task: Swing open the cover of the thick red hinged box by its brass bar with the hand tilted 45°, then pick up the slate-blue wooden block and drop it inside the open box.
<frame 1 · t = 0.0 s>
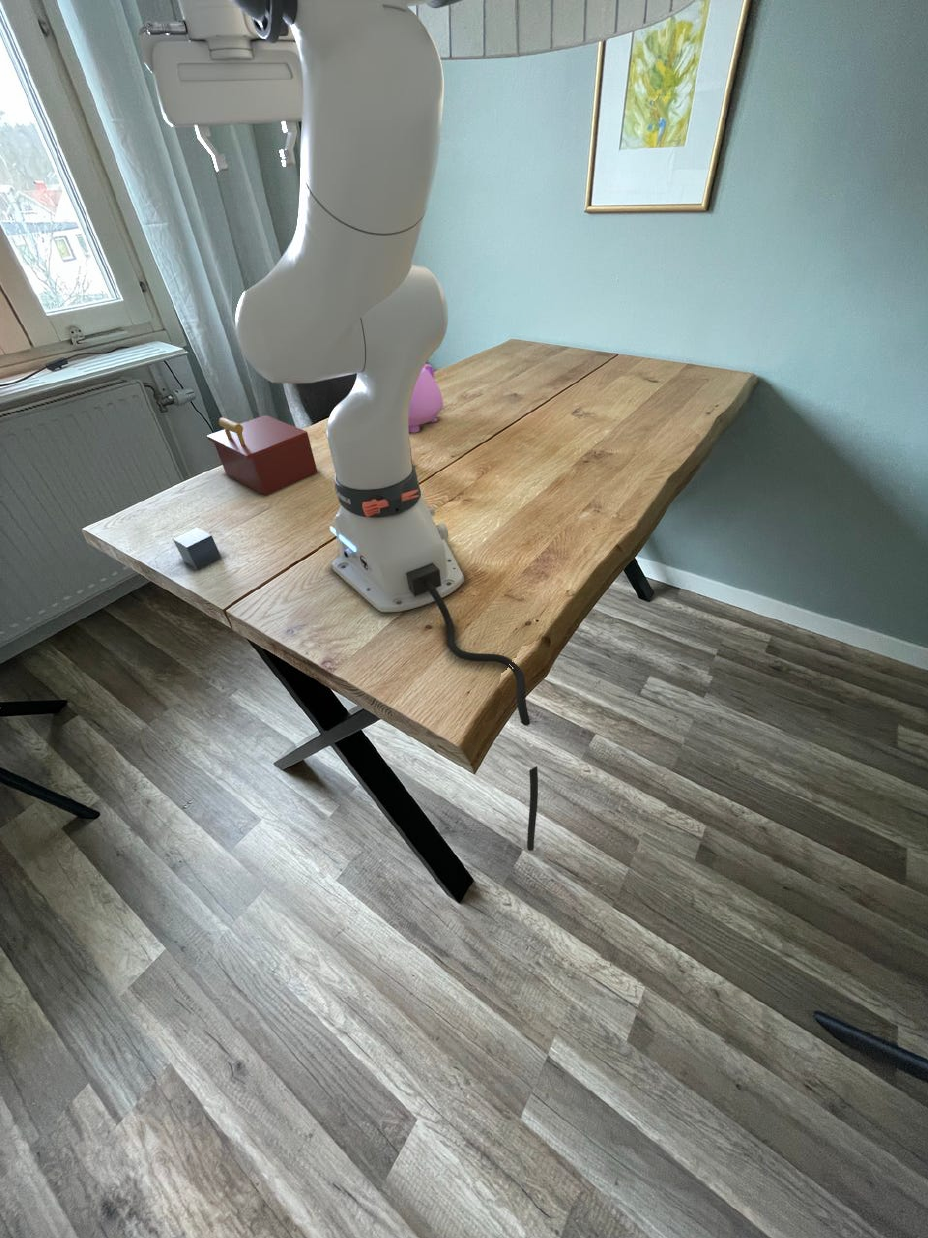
hand: (256, 168, 74), 48 cm above the table, tool pointing down, fingers open, 8 cm apart
cover: (254, 425, 103), point 10 cm above the table, hinge at 0.0°
pink piggy bank: (409, 424, 126), on the table
soda can: (400, 467, 109), on the table
block: (202, 559, 87), on the table
red hinged box: (271, 473, 110), on the table
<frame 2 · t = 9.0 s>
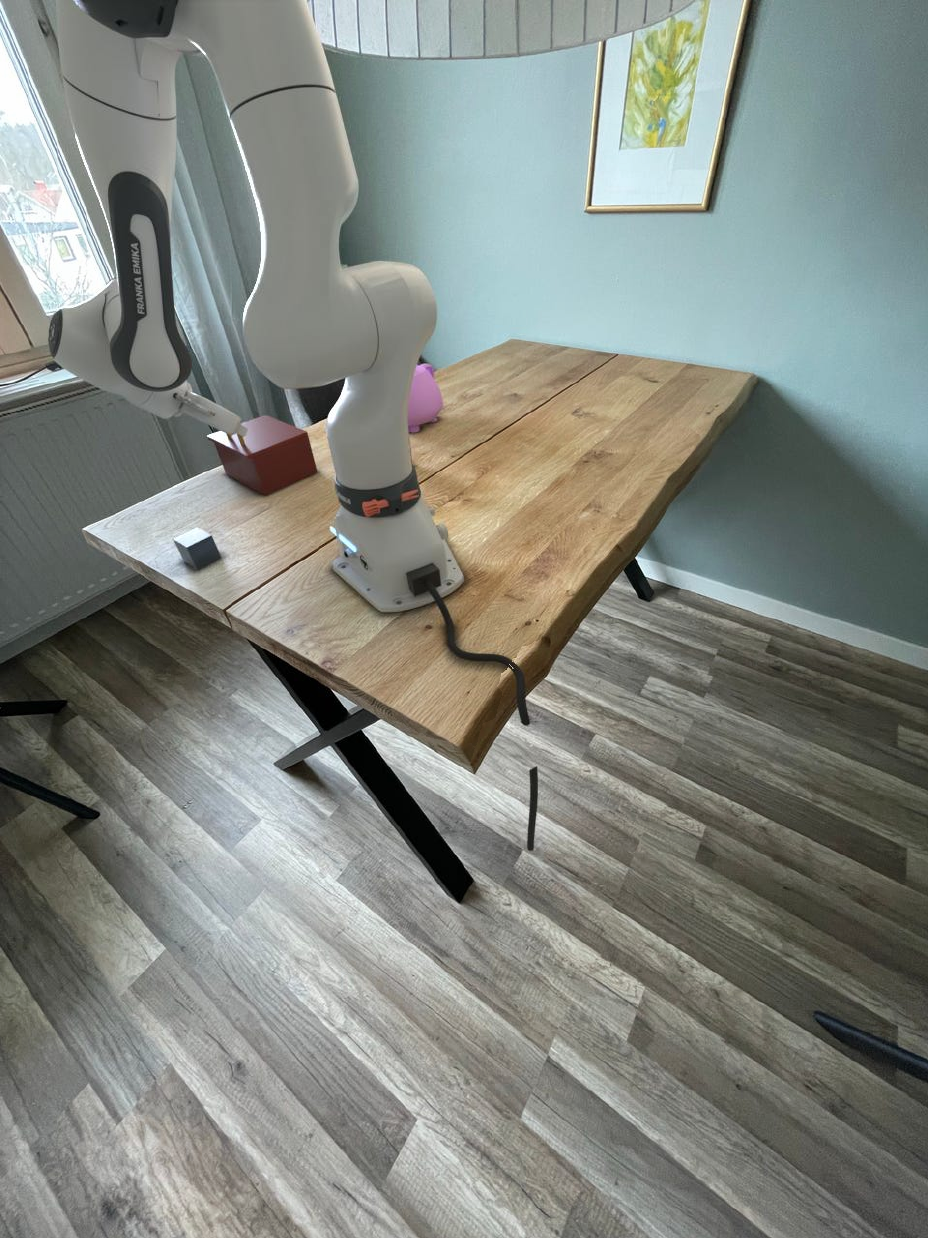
hand: (234, 427, 100), 11 cm above the table, tool tilted 45°, fingers closed on cover, 6 cm apart
cover: (254, 425, 103), point 10 cm above the table, hinge at 0.0°, touching gripper
everything else where it was.
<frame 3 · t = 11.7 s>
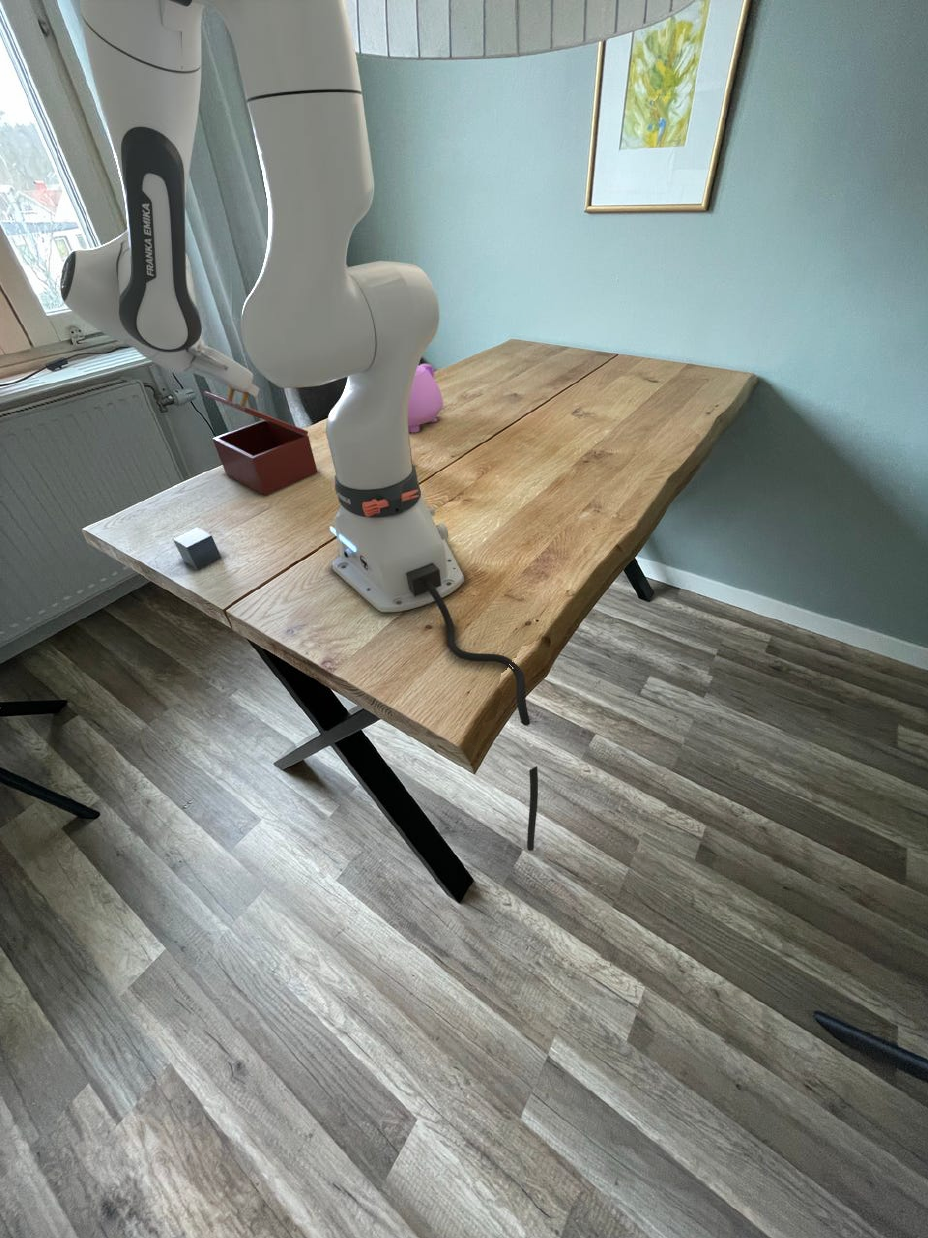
hand: (245, 388, 99), 17 cm above the table, tool tilted 45°, fingers closed on cover, 6 cm apart
cover: (259, 403, 102), point 14 cm above the table, hinge at 36.2°, touching gripper
everything else where it was.
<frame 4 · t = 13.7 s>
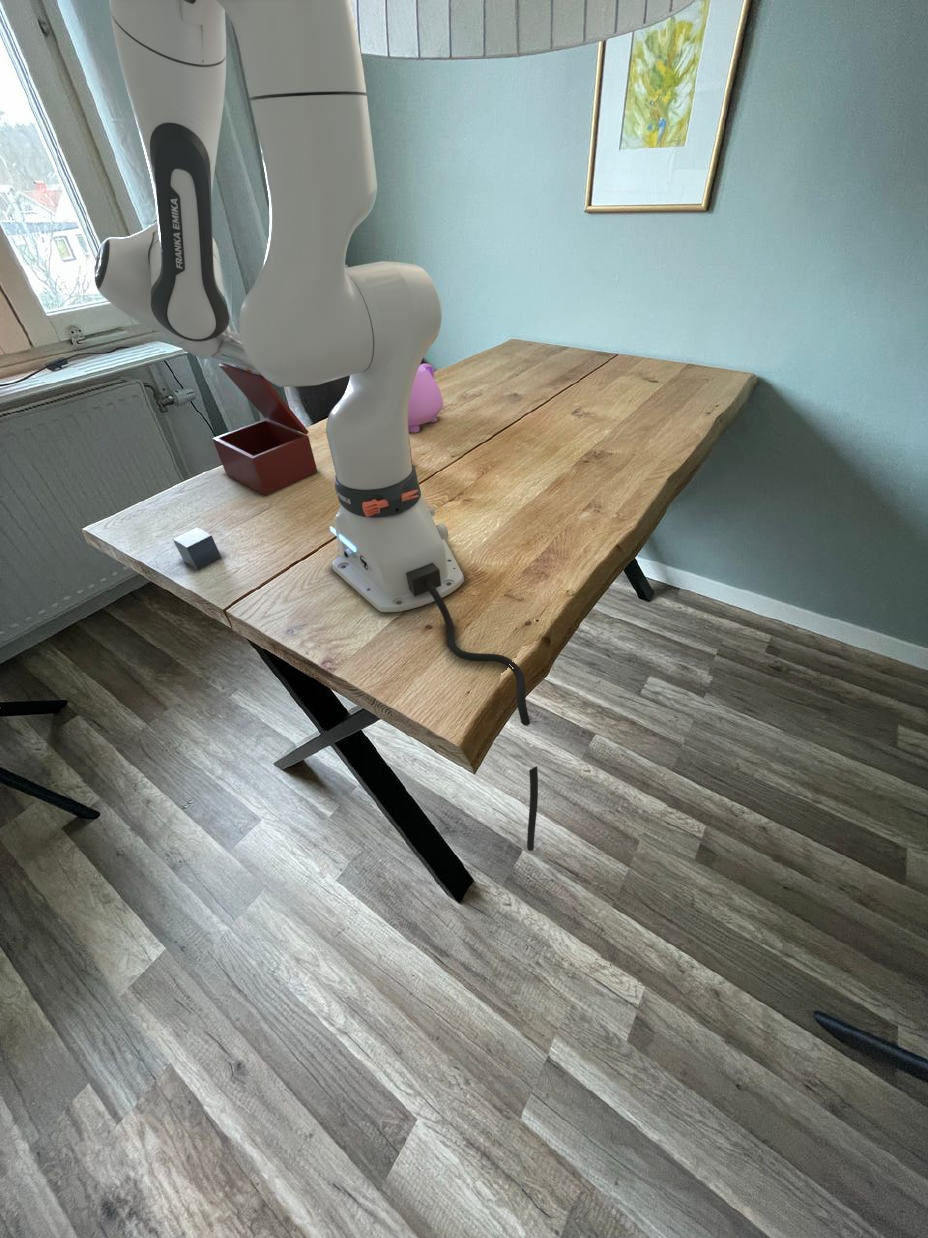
hand: (269, 373, 101), 18 cm above the table, tool tilted 45°, fingers closed on cover, 6 cm apart
cover: (270, 391, 102), point 15 cm above the table, hinge at 63.6°, touching gripper
everything else where it was.
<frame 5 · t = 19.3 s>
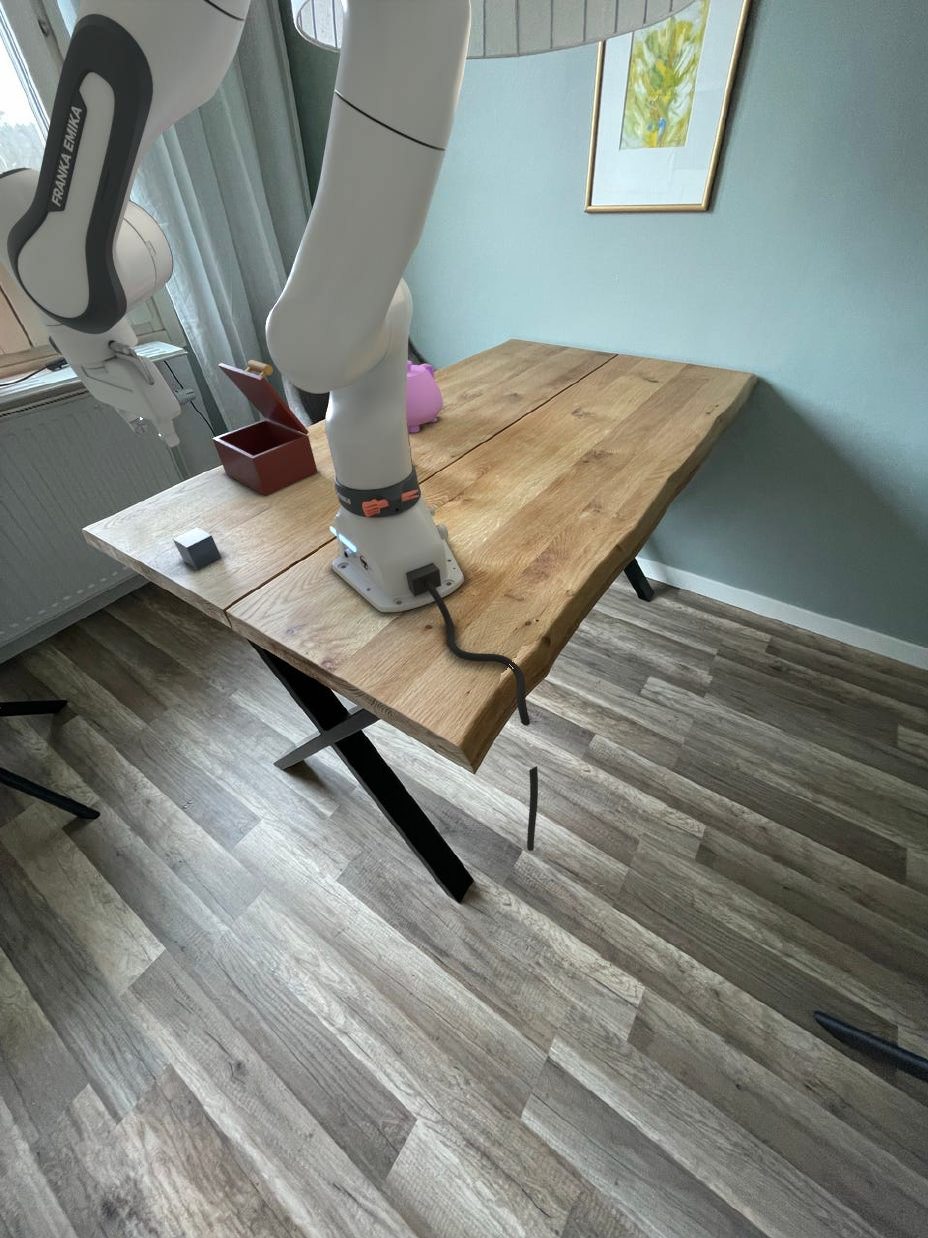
hand: (157, 437, 77), 19 cm above the table, tool pointing down, fingers open, 8 cm apart
cover: (270, 391, 102), point 15 cm above the table, hinge at 63.1°
everything else where it was.
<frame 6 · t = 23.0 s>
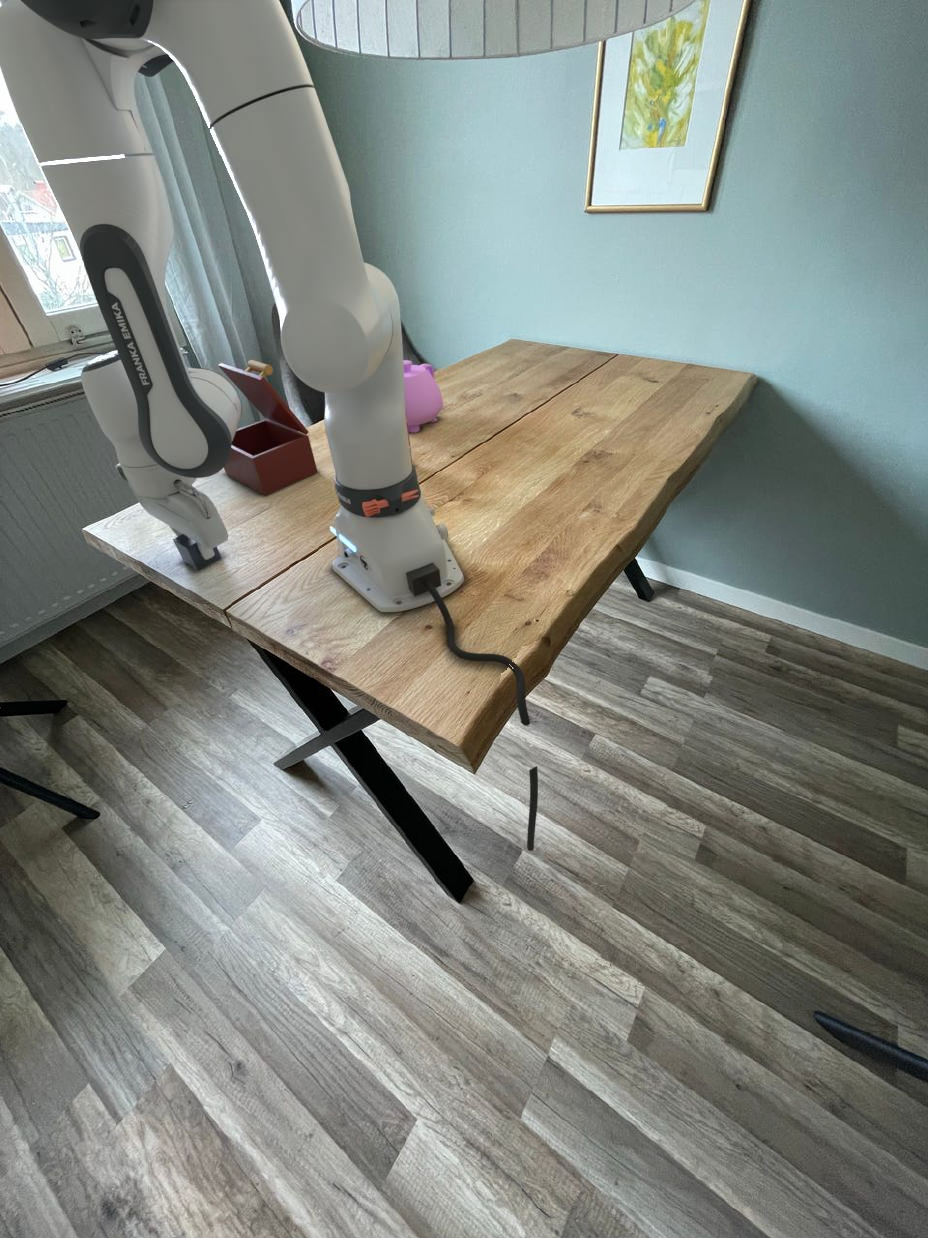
hand: (198, 550, 86), 2 cm above the table, tool pointing down, fingers closed on block, 4 cm apart
block: (202, 559, 87), on the table, touching gripper
everything else where it was.
when the fingers open (11 cm above the table, at t = 29.7 s): block drops 9 cm, resting on red hinged box.
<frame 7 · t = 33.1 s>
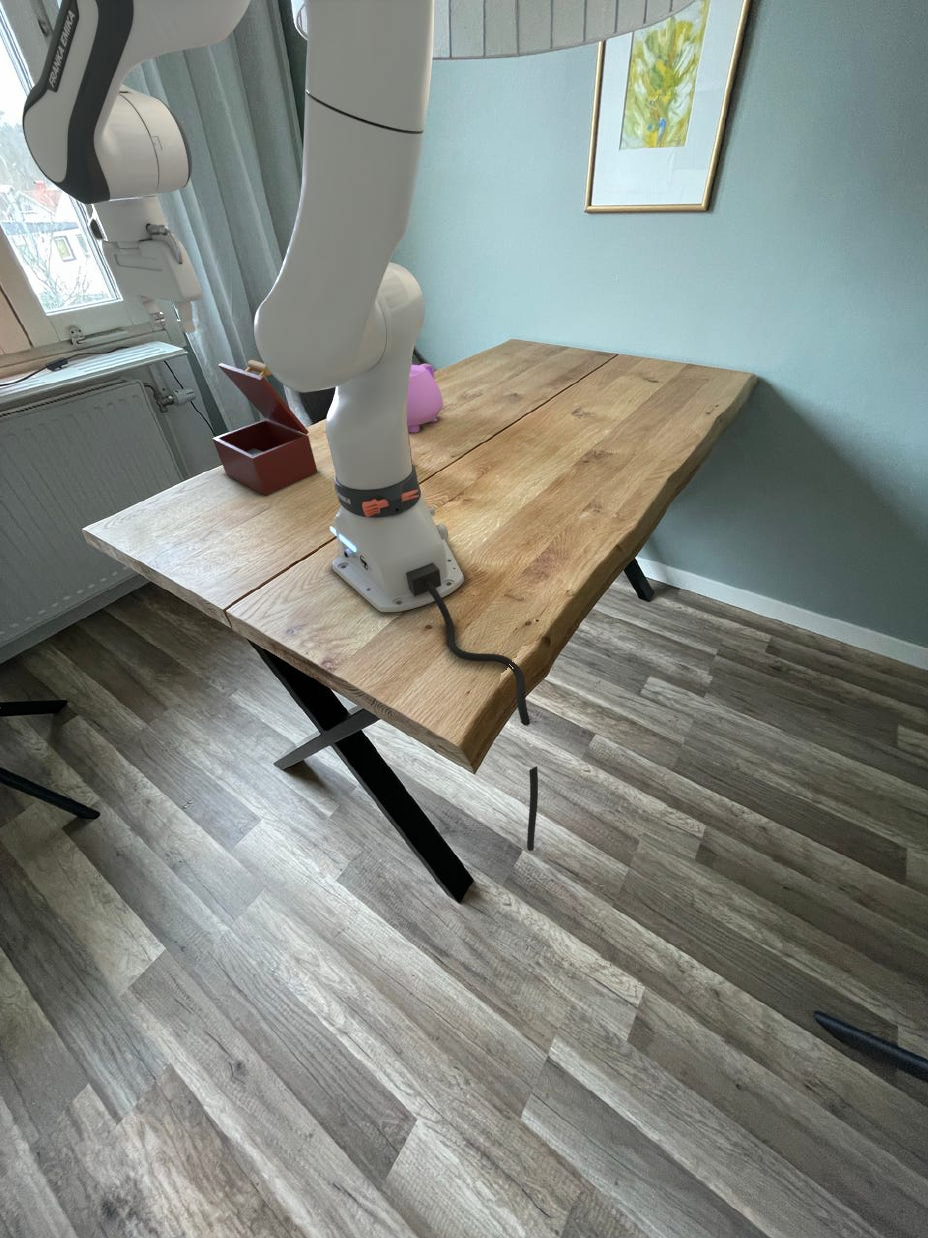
hand: (174, 328, 86), 29 cm above the table, tool pointing down, fingers open, 8 cm apart
block: (258, 474, 108), point 1 cm above the table, touching red hinged box
everything else where it was.
at the end: cover at +63° (first picture: +0°); block inside the target area in the red hinged box (2.9 cm from its centre), point 0.8 cm above the red hinged box's base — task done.
